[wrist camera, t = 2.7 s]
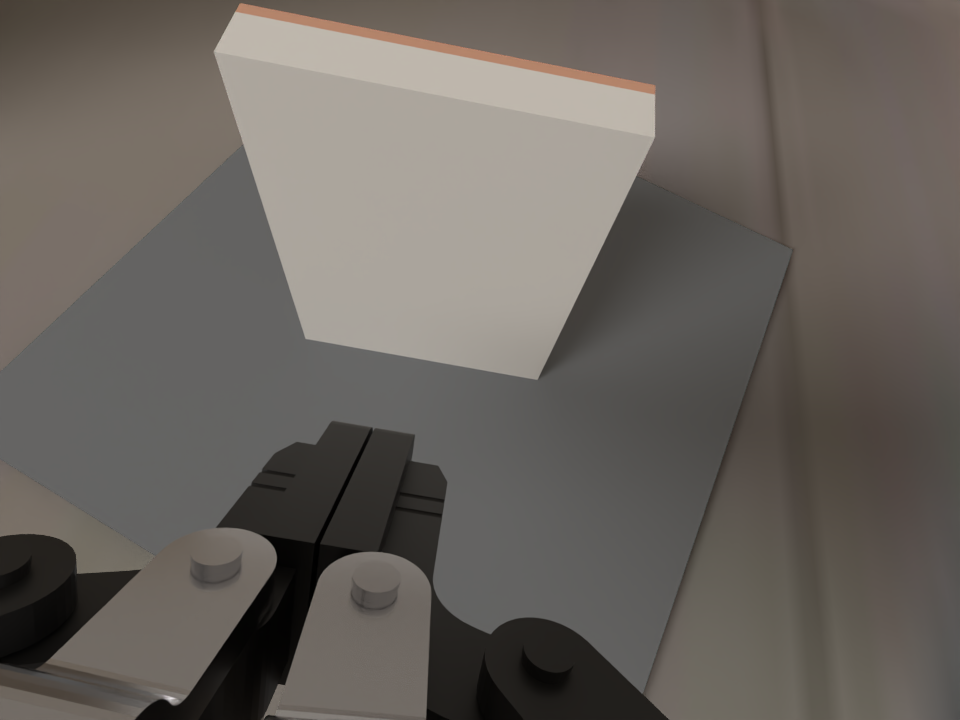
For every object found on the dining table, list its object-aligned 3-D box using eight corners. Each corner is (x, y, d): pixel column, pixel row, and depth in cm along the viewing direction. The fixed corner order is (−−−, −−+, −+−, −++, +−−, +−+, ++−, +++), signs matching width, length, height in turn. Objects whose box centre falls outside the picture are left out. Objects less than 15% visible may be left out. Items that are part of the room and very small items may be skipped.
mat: (-46, 429, 20) (-56, 424, 19) (352, 51, 30) (352, 42, 30) (591, 825, 17) (596, 831, 17) (786, 256, 28) (792, 249, 27)
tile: (537, 379, 23) (654, 137, 12) (305, 338, 22) (213, 51, 12) (541, 344, 23) (654, 85, 13) (316, 303, 23) (240, 3, 12)
